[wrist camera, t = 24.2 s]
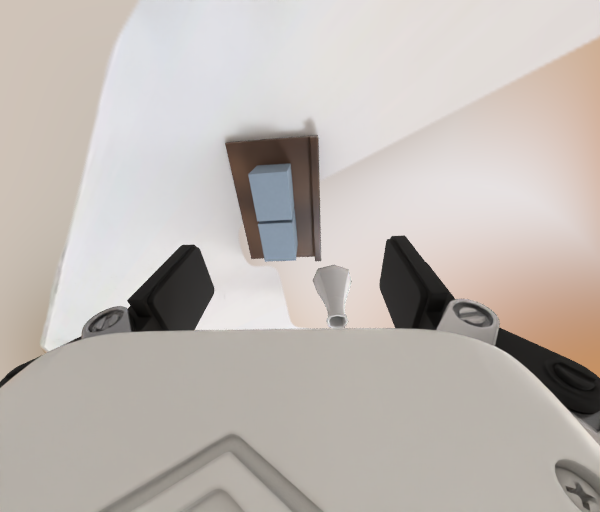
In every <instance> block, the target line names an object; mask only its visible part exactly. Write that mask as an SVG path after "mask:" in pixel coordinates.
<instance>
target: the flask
mask: <svg viewBox="0 0 600 512" xmlns="http://www.w3.org/2000/svg"><path fill="white" fill-rule="evenodd" d="M313 282H314V285H315V288H316V290H317V292H318V294H319V296H320V297H321V299H322V300H323V302H324V304H325V306H326V308H327V311H328V318H327V324H328V326H329V327H330V328H345V326H346V325H347V323H348V320H347V316H346V314H345V302H346V298H347V295H348V291H349V288H350V285H351V282H352V281H351V277H350V273H349V270H348V269H345V268H342V267H339V266H336V265H331V266H327V267H323V268H319V269H318V270H317V272H316V274H315V276H314V279H313Z"/></svg>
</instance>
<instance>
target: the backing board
mask: <svg viewBox="0 0 600 512" xmlns="http://www.w3.org/2000/svg"><path fill="white" fill-rule="evenodd" d="M225 145H226V149H227V153H228V158H229V162H230V167H231V171H232V175H233V180H234V184H235V188H236V193H237V197H238V202H239V206H240V210H241V215H242V219H243V224H244V228H245V232H246V236H247V241H248V245H249V250H250V254H251V258H252V259H256V258H257V259H258V258H264V254H263V248H262V243H261V238H260V233H259V227H258V223H259V221H257V218H256V212H255V207H254V202H253V197H252V191H251V186H250V181H249V176H248V174H249V173H250V172H251V171H252V170H253V169H254V168H255V167H256V166H258V165H273V164H287V163H291V174H292V185H293V196H294V209H295V218H296V229H297V241H298V246H297V255H296V257H310V256H311V257H312V256H315V261H321V237H320V236H321V235H320V233H321V232H320V190H319V146H318V135H316V136H303V137H290V138H277V139H264V140H251V141H238V142H227V143H225Z"/></svg>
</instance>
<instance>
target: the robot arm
mask: <svg viewBox="0 0 600 512" xmlns="http://www.w3.org/2000/svg"><path fill="white" fill-rule="evenodd" d="M380 290H381V293H382V295H383V298H384V300H385V303H386V305H387V308H388V310H389V313H390V316H391V318H392V321H393V323H394V325H395V328H333V329H243V330H195V328H196V326H197V324H198V322H199V320H200V318H201V317H202V315H203V313H204V311H205V309H206V307H207V305H208V304H209V302H210V300H211V298H212V296H213V294H214V286H213V283H212V281H211V278H210V275H209V273H208V270H207V267H206V265H205V262H204V259H203V256H202V254H201V251H200V249H199V248H198V247H196V246H195V245H182V246H180V247H179V248H178V249H177V250H176V251H175V252H174V253H173V254H172V255H171V257H170V258H169V259H168V260H167V261H166V262H165V263H164V264H163V265H162V266H161V267H160V268H159V269H158V270H157V271H156V272H155V273H154V274H153V275H152V276H151V277H150V278H149V279H148V280H147V281H146V282H145V283H144V284H143V285H142V286H141V287H140V288H139V289H138V290H137V291H136V292H135V293H134V294H133V295H132V296H131V297H130V298H129V299H128V300H127V301H128V303H129V304H130V307H129V308H128V309H127V308H126V307H123V306H117V307H112V308H109V309H106V310H104V311H102V312H100V313H98V314H97V315H95V316H93V317H92V318H91V319H90V320H89V321H87V323H86V324H85V325H84V327H83V330H82V336H81V337H79V338H77V339H75V340H73V341H71V342H69V343H67V344H65V345H62V346H60V347H58V348H56V349H54V350H51V351H49V352H47V353H45V354H44V355H42V356H39V357H37V358H36V359H33V360H31V361H29V362H27V363H25V364H22V365H20V366H18V367H16V368H15V369H14V370H12V371H11V372H9V373H8V374H7V375H6V377H5V378H4V379H2V381H1V382H0V512H600V378H599V377H597V375H595V374H594V373H593V372H591V371H590V370H588V369H587V368H586V367H584V366H582V365H580V364H578V363H576V362H574V361H572V360H570V359H568V358H566V357H564V356H561V355H559V354H557V353H555V352H552V351H550V350H548V349H546V348H544V347H541V346H539V345H537V344H535V343H532V342H530V341H528V340H526V339H523V338H521V337H519V336H517V335H515V334H512V333H510V332H508V331H506V330H503V329H501V328H499V325H500V323H499V319H498V317H497V315H496V314H495V313H494V312H493V311H492V310H490V309H489V308H488V307H486V306H485V305H483V304H481V303H478V302H475V301H472V300H468V299H455V298H454V297H453V296H452V294H451V293H450V292H449V290H448V289H447V288H446V287H445V285H444V284H443V283H442V281H441V280H440V279H439V278H438V276H437V275H436V274H435V273H434V271H433V270H432V269H431V267H430V266H429V265H428V264H427V263H426V262H425V261H424V260H423V259H422V257H421V256H420V255H419V253H418V252H417V251H416V250H415V248H414V247H413V245H412V244H411V243H410V242H409V240H408V239H407V238H406V237H405V236H392V237H391V238H390V239H388V240H387V241H386V247H385V253H384V259H383V265H382V272H381V278H380Z"/></svg>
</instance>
